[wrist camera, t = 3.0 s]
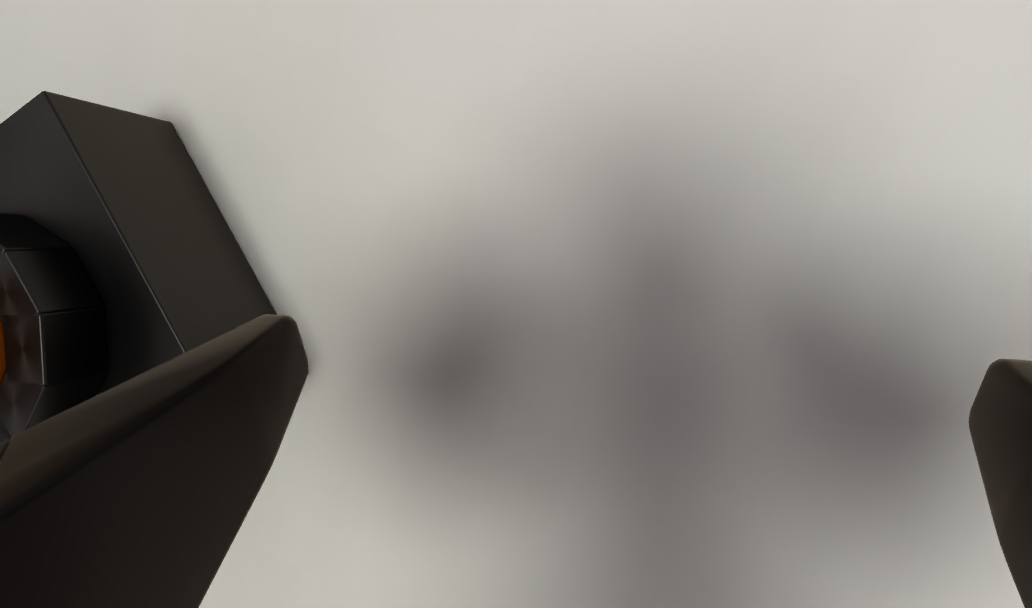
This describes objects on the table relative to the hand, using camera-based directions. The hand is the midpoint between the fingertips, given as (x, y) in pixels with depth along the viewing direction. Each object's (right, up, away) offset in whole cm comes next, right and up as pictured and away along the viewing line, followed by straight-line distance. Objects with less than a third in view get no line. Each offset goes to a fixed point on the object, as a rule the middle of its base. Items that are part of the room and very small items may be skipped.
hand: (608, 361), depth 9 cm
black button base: (-15, 0, +15) cm, 21 cm away
